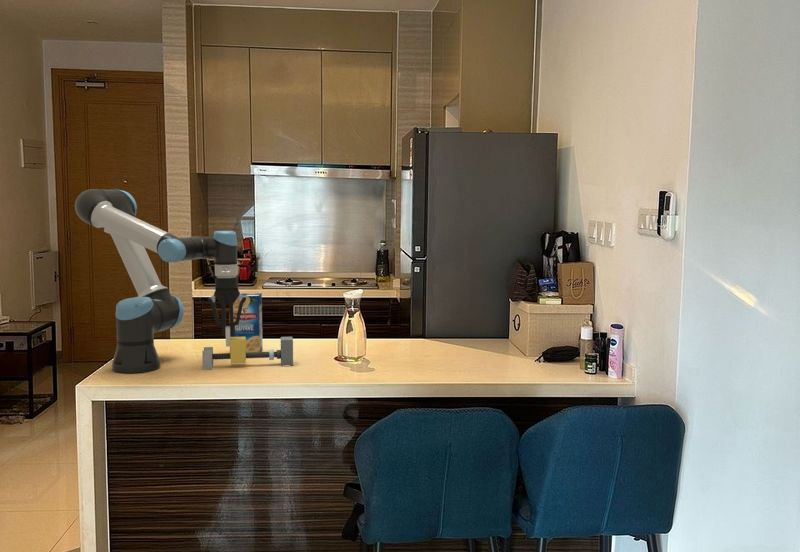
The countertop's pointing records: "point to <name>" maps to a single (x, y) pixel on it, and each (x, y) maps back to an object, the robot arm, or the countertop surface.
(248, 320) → the blue cardboard box
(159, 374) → the countertop surface
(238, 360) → the sleeve
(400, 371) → the countertop surface
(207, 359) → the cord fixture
